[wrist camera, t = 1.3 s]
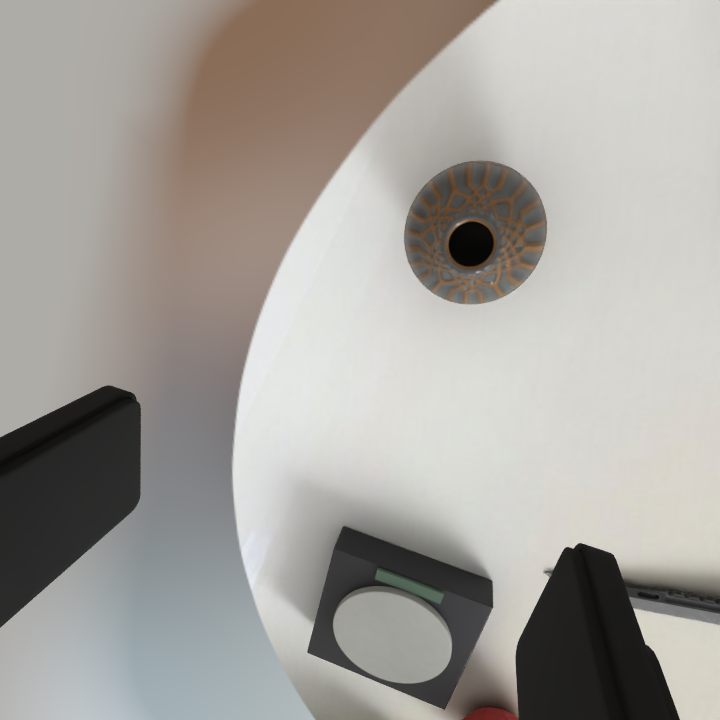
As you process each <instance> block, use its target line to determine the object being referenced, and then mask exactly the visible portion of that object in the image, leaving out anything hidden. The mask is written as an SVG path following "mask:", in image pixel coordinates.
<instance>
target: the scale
mask: <svg viewBox="0 0 720 720" xmlns="http://www.w3.org/2000/svg"><path fill="white" fill-rule="evenodd" d="M492 609H493V587H492V580H489V579H486V578H483V577H481V576H478V575H475V574H472V573H470V572H467V571H464V570H461V569H459V568H456V567H453V566H451V565H448V564H445V563H442V562H440V561H437V560H434V559H431V558H429V557H426V556H423V555H420V554H418V553H415V552H412V551H409V550H407V549H404V548H401V547H399V546H396V545H393V544H390V543H388V542H385V541H382V540H379V539H377V538H374V537H371V536H368V535H366V534H363V533H360V532H358V531H355V530H352V529H349V528H347V527H343V528H342V531H341V533H340V535H339V538H338V540H337V542H336V545H335V547H334V550H333V554H332V558H331V562H330V566H329V570H328V574H327V578H326V581H325V585H324V589H323V593H322V597H321V601H320V605H319V609H318V612H317V616H316V620H315V624H314V628H313V632H312V636H311V640H310V643H309V647H308V651H307V652H308V653H309V654H312V655H314V656H317V657H319V658H321V659H324V660H326V661H329V662H331V663H333V664H336V665H338V666H341V667H343V668H346V669H348V670H350V671H353V672H355V673H358V674H360V675H362V676H365V677H367V678H370V679H372V680H374V681H377V682H379V683H382V684H384V685H386V686H389V687H391V688H394V689H396V690H398V691H401V692H403V693H406V694H408V695H410V696H413V697H415V698H418V699H420V700H422V701H425V702H427V703H430V704H432V705H434V706H437V707H439V708H442V709H444V710H445V708H446V706H447V704H448V702H449V700H450V698H451V696H452V694H453V691H454V689H455V687H456V685H457V683H458V681H459V679H460V677H461V675H462V672H463V670H464V668H465V666H466V664H467V662H468V660H469V658H470V656H471V653H472V651H473V649H474V647H475V645H476V643H477V641H478V639H479V637H480V634H481V632H482V630H483V628H484V626H485V624H486V622H487V620H488V618H489V615H490V613H491V611H492Z"/></svg>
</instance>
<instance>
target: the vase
mask: <svg viewBox="0 0 720 720" xmlns="http://www.w3.org/2000/svg"><path fill="white" fill-rule="evenodd" d="M546 233H547V222H546V214H545V210H544V206H543V204H542V201H541V199H540V197H539V195H538V193H537V191H536V190H535V188H534V187H533V186H532V184H531V183H530V182H529V181H528V180H527V179H526V178H525V177H524V176H522V175H521V174H520V173H518V172H517V171H515V170H514V169H512V168H510V167H508V166H505V165H503V164H500V163H496V162H490V161H470V162H465V163H461V164H457V165H454V166H452V167H450V168H448V169H446V170H444V171H442V172H441V173H439V174H437V175H436V176H435V177H433V178H432V179H431V180H430V181H429V182H428V183H427V184H426V185H425V186H424V187H423V188H422V189H421V191H420V192H419V193H418V195H417V196H416V198H415V200H414V201H413V203H412V205H411V208H410V210H409V213H408V216H407V219H406V224H405V231H404V243H405V251H406V255H407V259H408V262H409V264H410V266H411V268H412V270H413V272H414V274H415V275H416V277H417V278H418V279H419V281H420V282H421V283H422V284H423V285H424V286H425V287H426V288H427V289H428V290H430V291H431V292H432V293H434V294H435V295H437V296H439V297H441V298H443V299H445V300H448V301H451V302H455V303H460V304H481V303H487V302H491V301H494V300H497V299H499V298H501V297H504V296H506V295H507V294H509V293H511V292H512V291H514V290H515V289H516V288H518V287H519V286H520V285H521V284H522V283H523V282H524V281H525V280H526V279H527V278H528V277H529V276H530V274H531V273H532V272H533V270H534V269H535V267H536V265H537V264H538V262H539V260H540V257H541V255H542V252H543V249H544V246H545V241H546Z"/></svg>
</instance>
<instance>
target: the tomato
mask: <svg viewBox="0 0 720 720" xmlns="http://www.w3.org/2000/svg"><path fill="white" fill-rule="evenodd" d="M462 720H519V718H518V717H517V716H516V715H514V714H512V713H510V712H507V711H505V710H503V709H499V708H492V707H484V708H479V709H475V710H474V711H473V712H471V713H470V714H469V715H467V716H466V717H465V718H464V719H462Z"/></svg>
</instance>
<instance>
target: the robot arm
mask: <svg viewBox="0 0 720 720" xmlns="http://www.w3.org/2000/svg"><path fill="white" fill-rule="evenodd" d="M140 416H141V408H140V404H139V403H138V402H137V400H136V397H135V395H134V394H133V393H131V392H128V391H125V390H122V389H119V388H116V387H113V386H104V387H102V388H100V389H98V390H96V391H94V392H92V393H90V394H87V395H85V396H84V397H81V398H79V399H77V400H75V401H73V402H71V403H69V404H67V405H65V406H63V407H61V408H59V409H57V410H55V411H53V412H51V413H49V414H47V415H45V416H43V417H41V418H39V419H37V420H35V421H33V422H31V423H29V424H27V425H25V426H23V427H20V428H19V429H16V430H14V431H12V432H10V433H8V434H6V435H4V436H2V437H0V627H1V626H3V625H4V624H5V623H6V622H7V621H8V620H9V619H10V618H12V617H13V616H14V615H15V614H16V613H17V612H18V611H20V610H21V609H22V608H23V607H24V606H25V605H26V604H27V603H29V602H30V601H31V600H32V599H33V598H34V597H36V596H37V595H38V594H39V593H40V592H41V591H42V590H43V589H44V588H46V587H47V586H48V585H49V584H50V583H51V582H53V581H54V580H55V579H56V578H57V577H58V576H59V575H61V574H62V573H63V572H64V571H65V570H66V569H67V568H68V567H70V566H71V565H72V564H73V563H74V562H75V561H76V560H77V559H79V558H80V557H81V556H82V555H83V554H84V553H85V552H87V551H88V550H89V549H90V548H91V547H92V546H93V545H94V544H96V543H97V542H98V541H99V540H100V539H101V538H102V537H103V536H105V535H106V534H107V533H108V532H109V531H110V530H112V529H113V528H114V527H115V526H116V525H117V524H118V523H119V522H121V521H122V520H123V519H124V518H125V517H126V516H127V515H129V514H130V513H131V512H132V511H133V510H134V508H135V507H136V506H137V504H138V502H139V499H140V445H141V443H140V442H141V441H140V437H141V434H140V433H141V432H140V431H141V430H140V429H141V424H140V423H141V422H140V421H141V417H140ZM516 676H517V694H518V712H519V720H680V719H679V716H678V713H677V710H676V708H675V705H674V702H673V699H672V697H671V694H670V691H669V688H668V686H667V683H666V680H665V677H664V675H663V672H662V669H661V666H660V664H659V661H658V659H657V657H656V655H655V653H654V651H653V650H652V649H651V648H650V647H649V646H647V645H645V642H644V639H643V636H642V633H641V630H640V627H639V625H638V622H637V619H636V616H635V613H634V610H633V607H632V604H631V601H630V599H629V596H628V593H627V590H626V587H625V584H624V581H623V578H622V576H621V573H620V570H619V567H618V564H617V561H616V559H615V557H614V555H613V554H611V553H609V552H606V551H603V550H600V549H597V548H594V547H591V546H588V545H585V544H582V543H579V544H577V545H576V546H575V548H574V549H572V548H569V547H566V548H565V549H564V550H563V552H562V554H561V556H560V558H559V560H558V562H557V564H556V566H555V568H554V570H553V572H552V574H551V576H550V578H549V580H548V582H547V584H546V586H545V588H544V590H543V592H542V594H541V596H540V598H539V600H538V602H537V604H536V606H535V608H534V610H533V613H532V615H531V617H530V619H529V621H528V623H527V625H526V627H525V629H524V631H523V633H522V635H521V637H520V639H519V641H518V645H517V650H516Z"/></svg>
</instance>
